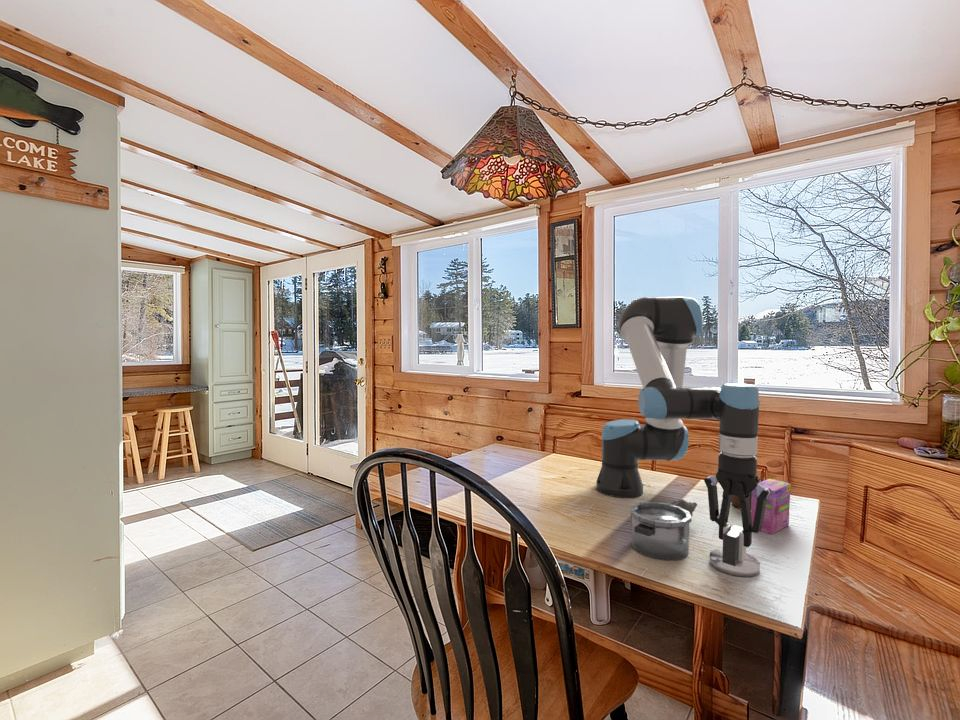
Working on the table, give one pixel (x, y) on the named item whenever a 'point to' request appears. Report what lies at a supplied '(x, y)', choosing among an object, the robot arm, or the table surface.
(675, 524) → the pot
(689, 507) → the fossil
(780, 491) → the box
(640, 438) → the robot arm
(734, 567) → the lid
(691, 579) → the table surface
